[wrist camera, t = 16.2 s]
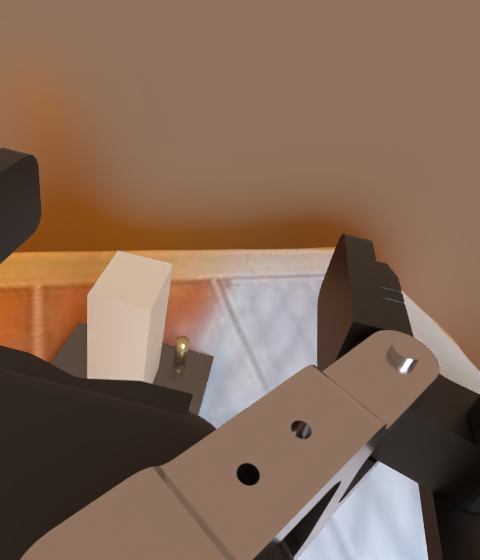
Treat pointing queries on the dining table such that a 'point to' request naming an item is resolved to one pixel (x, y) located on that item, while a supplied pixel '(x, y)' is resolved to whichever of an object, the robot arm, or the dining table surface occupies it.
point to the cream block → (127, 318)
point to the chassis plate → (171, 373)
